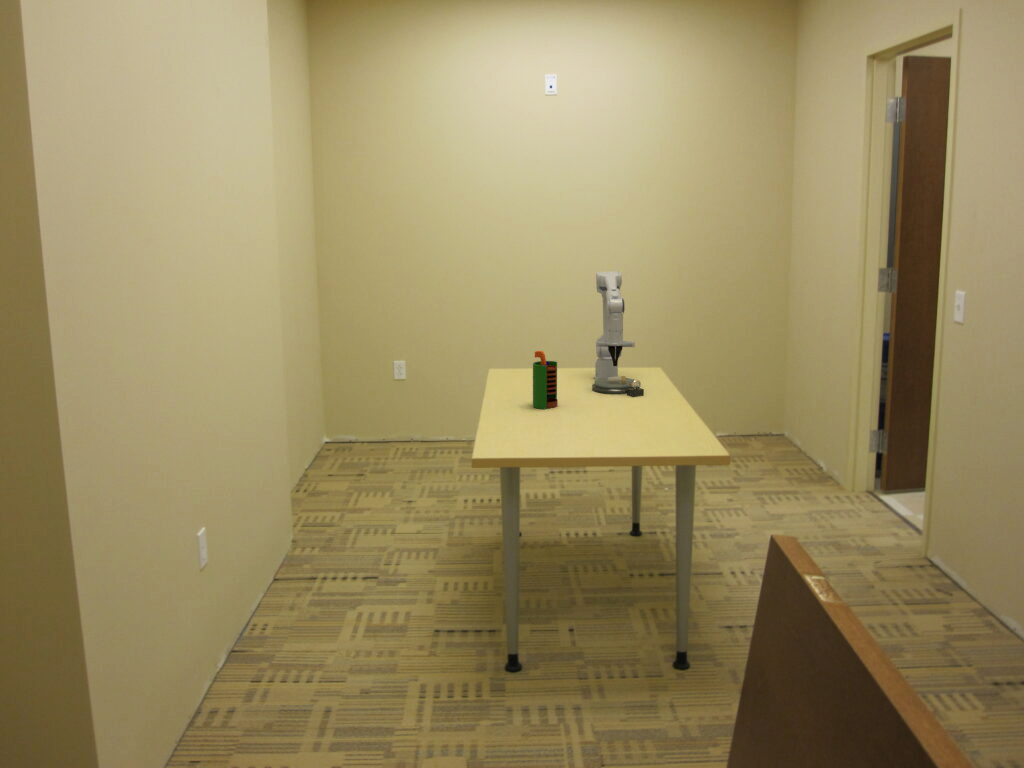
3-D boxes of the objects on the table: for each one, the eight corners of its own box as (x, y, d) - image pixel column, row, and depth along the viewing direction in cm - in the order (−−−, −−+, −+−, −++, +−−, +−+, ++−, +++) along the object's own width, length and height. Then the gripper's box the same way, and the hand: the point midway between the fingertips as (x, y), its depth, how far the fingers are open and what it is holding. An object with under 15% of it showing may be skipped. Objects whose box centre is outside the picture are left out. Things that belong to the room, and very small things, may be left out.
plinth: (583, 387, 353) (583, 384, 353) (620, 382, 361) (620, 378, 361) (609, 396, 337) (609, 392, 337) (648, 390, 346) (648, 386, 345)
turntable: (608, 391, 339) (608, 379, 338) (587, 383, 353) (587, 372, 352) (644, 386, 345) (644, 375, 344) (622, 379, 359) (622, 368, 358)
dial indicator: (624, 394, 340) (624, 379, 338) (635, 393, 342) (635, 377, 341) (632, 397, 335) (633, 381, 334) (643, 395, 338) (643, 379, 336)
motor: (555, 409, 319) (554, 354, 314) (530, 408, 320) (529, 353, 316) (559, 403, 328) (559, 349, 324) (535, 402, 330) (534, 348, 326)
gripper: (595, 331, 336) (595, 367, 339) (634, 332, 334) (634, 367, 337) (596, 329, 343) (596, 364, 346) (635, 329, 341) (634, 364, 343)
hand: (615, 365), depth 342 cm, fingers closed
